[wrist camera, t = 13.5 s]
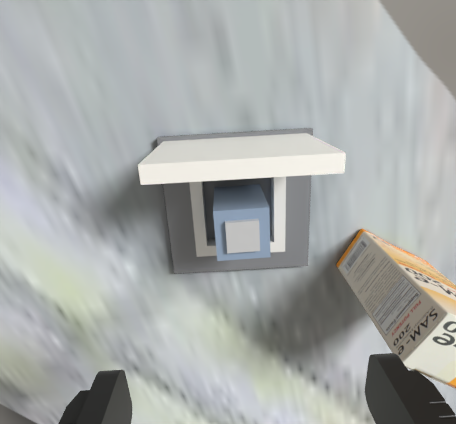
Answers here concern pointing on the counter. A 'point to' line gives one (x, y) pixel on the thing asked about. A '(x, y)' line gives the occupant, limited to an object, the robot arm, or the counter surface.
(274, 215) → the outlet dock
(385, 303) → the supplement box
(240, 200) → the block
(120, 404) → the robot arm
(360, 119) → the counter surface
